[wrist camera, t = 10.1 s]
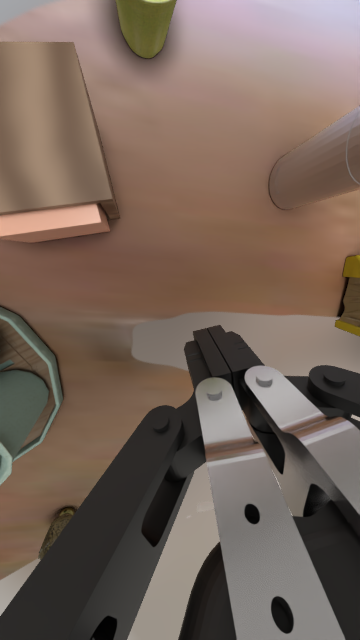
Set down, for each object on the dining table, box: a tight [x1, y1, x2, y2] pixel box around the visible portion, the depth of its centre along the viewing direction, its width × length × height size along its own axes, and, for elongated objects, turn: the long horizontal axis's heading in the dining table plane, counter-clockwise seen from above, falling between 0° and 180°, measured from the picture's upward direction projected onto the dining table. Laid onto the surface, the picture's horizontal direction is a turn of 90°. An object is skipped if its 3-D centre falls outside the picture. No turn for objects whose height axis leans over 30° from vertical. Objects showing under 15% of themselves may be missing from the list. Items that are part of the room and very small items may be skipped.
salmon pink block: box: [0, 203, 110, 243], centre depth 24 cm, size 12×10×9 cm
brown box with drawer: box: [0, 42, 120, 220], centre depth 23 cm, size 16×12×12 cm
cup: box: [38, 507, 74, 560], centre depth 47 cm, size 8×7×8 cm
